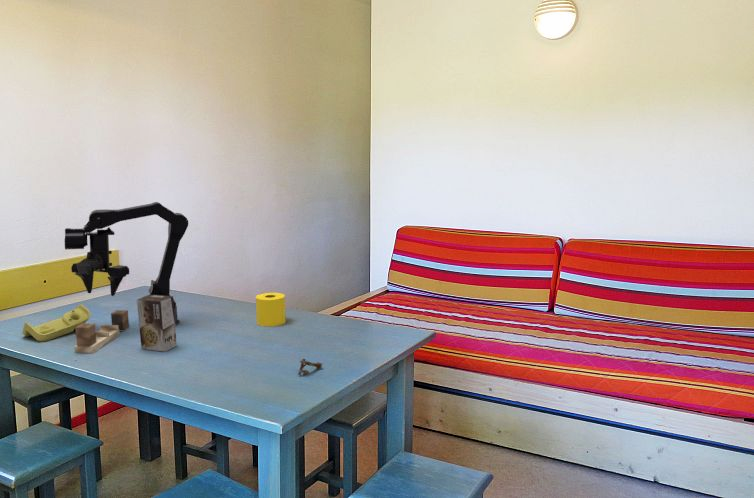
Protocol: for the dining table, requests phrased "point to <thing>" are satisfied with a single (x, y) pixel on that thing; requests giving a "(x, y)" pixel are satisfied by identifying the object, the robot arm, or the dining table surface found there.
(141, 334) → the coffee box
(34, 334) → the plastic component
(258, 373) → the dining table surface
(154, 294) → the robot arm
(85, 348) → the rail
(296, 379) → the dining table surface
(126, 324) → the walnut finger
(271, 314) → the yellow hollow cylinder
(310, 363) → the brown triangular bracket
